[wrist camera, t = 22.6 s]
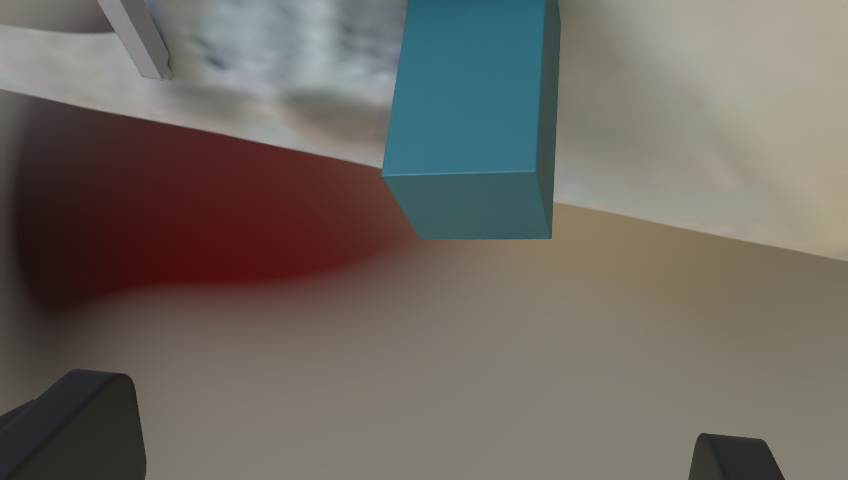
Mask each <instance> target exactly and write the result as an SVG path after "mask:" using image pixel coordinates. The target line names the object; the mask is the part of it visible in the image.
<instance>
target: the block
mask: <svg viewBox="0 0 848 480" xmlns="http://www.w3.org/2000/svg"><path fill="white" fill-rule="evenodd" d="M560 29H561V23H560V15H559V6H558V0H409V1H408V8H407V14H406V21H405V27H404V33H403V40H402V46H401V53H400V59H399V65H398V72H397V78H396V84H395V91H394V97H393V104H392V110H391V116H390V123H389V129H388V136H387V142H386V148H385V155H384V161H383V168H382V174H381V176H382V178H383V180H384V181H385V183H386V184H387V186H388V188H389V189H390V191H391V192H392V194H393V196H394V197H395V199H396V200H397V202H398V203H399V205H400V207H401V208H402V210H403V212H404V213H405V215H406V216H407V218H408V220H409V221H410V223H411V224H412V226H413V227H414V229H415V231H416V232H417V234H418V235H419V237H420V239H551V237H552V216H553V192H554V169H555V146H556V122H557V99H558V75H559V52H560Z"/></svg>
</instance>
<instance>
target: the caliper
mask: <svg viewBox="0 0 848 480" xmlns="http://www.w3.org/2000/svg"><path fill="white" fill-rule="evenodd" d="M97 1H98V2H99V4H100V6H101V8H102V9H103V11H104V13H105V14H106V16H107V18H108V20H109V21H110V23H111V25H112V26H113V28H114V30H115V32H116V33H117V35H118V37H119V38H120V40H121V42H122V43H123V45H124V47H125V48H126V50H127V52H128V54H129V55H130V57H131V59H132V60H133V62H134V64H135V65H136V67H137V69H138V70H139V72H140V74H141V75H142V77H145V78H150V79H155V80H161V81H163V80H168V81H170V80H172V74H171V71H170V69H169V67H168V65H167V63H168V58H169V54H168V51H167V49H166V47H165V45H164V43H163V41H162V38H161V36H160V34H159V32H158V30H157V28H156V26H155V24H154V22H153V20H152V17H151V15H150V13H149V11H148V9H147V7H146V5H145V3H144V1H143V0H97Z"/></svg>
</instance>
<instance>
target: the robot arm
mask: <svg viewBox="0 0 848 480" xmlns="http://www.w3.org/2000/svg"><path fill="white" fill-rule="evenodd" d="M145 475H146V455H145V448H144V442H143V436H142V430H141V423H140V417H139V410H138V404H137V397H136V391H135V387H134V383H133V381H132V379H131V378H130V377H129V376H128V375H126V374H121V373H111V372H101V371H91V370H81V369H75V370H72V371H69V372H68V373H67V374H65V375H64V376H63V377H62V378H60V379H59V380H58V381H57V382H56V383H55V384H54V385H52V386H51V387H50V388H49V389H48V390H46V391H45V392H44V393H43V394H42V395H41V396H39V397H38V398H37V399H36V400H31V401H29V402H27V403H25V404H23V405H21V406H19V407H17V408H15V409H13V410H12V411H10V412H7V413H5V414H4V415H2V416H0V480H145ZM688 480H785V479H784V477H783V475H782V473H781V471H780V469H779V467H778V465H777V463H776V461H775V459H774V457H773V455H772V453H771V451H770V449H769V447H768V445H767V444H766V442H764V440H762V439H756V438H746V437H735V436H725V435H716V434H706V433H702V434H700V435H699V437H698V438H697V441H696V444H695V448H694V453H693V459H692V464H691V469H690V474H689V479H688Z"/></svg>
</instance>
